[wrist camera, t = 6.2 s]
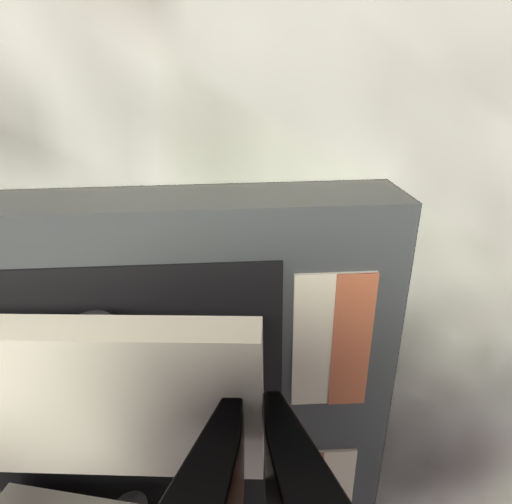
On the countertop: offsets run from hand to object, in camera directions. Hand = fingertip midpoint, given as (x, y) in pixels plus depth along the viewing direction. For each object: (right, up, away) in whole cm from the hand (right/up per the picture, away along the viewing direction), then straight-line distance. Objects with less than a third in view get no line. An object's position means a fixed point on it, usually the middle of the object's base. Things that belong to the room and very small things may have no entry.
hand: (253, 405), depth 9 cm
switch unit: (-3, -4, +7) cm, 8 cm away
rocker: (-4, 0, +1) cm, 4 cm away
